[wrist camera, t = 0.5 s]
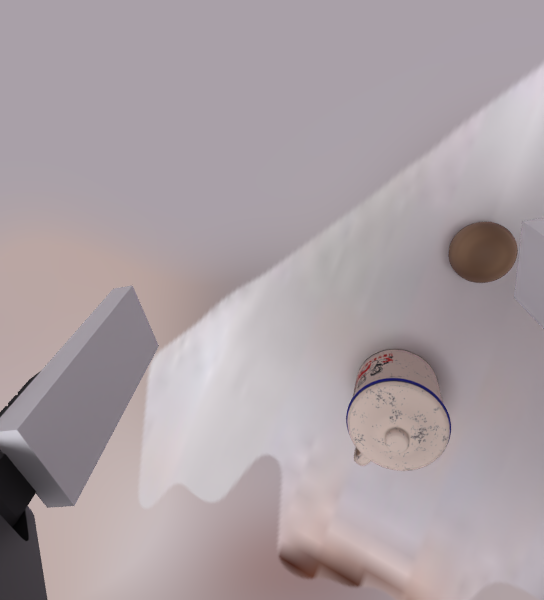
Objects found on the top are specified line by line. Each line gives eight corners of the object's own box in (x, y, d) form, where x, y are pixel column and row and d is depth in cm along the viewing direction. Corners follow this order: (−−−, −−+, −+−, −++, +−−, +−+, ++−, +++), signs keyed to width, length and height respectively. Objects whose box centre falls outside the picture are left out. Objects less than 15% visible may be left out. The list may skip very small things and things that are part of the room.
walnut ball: (520, 234, 37) (540, 239, 31) (487, 286, 38) (502, 298, 33) (463, 211, 38) (474, 212, 32) (434, 262, 39) (440, 271, 34)
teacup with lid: (381, 330, 43) (377, 374, 32) (458, 375, 41) (480, 436, 30) (327, 411, 47) (308, 473, 36) (395, 454, 45) (396, 532, 35)
